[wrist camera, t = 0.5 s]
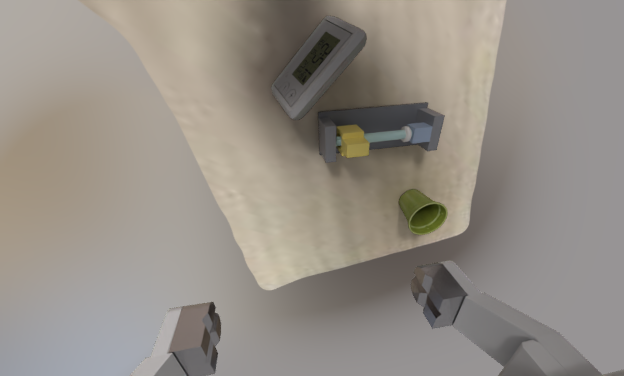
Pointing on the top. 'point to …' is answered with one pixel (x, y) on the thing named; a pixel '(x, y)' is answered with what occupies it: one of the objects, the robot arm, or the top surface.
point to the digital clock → (317, 65)
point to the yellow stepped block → (352, 141)
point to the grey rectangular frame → (382, 127)
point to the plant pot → (422, 212)
